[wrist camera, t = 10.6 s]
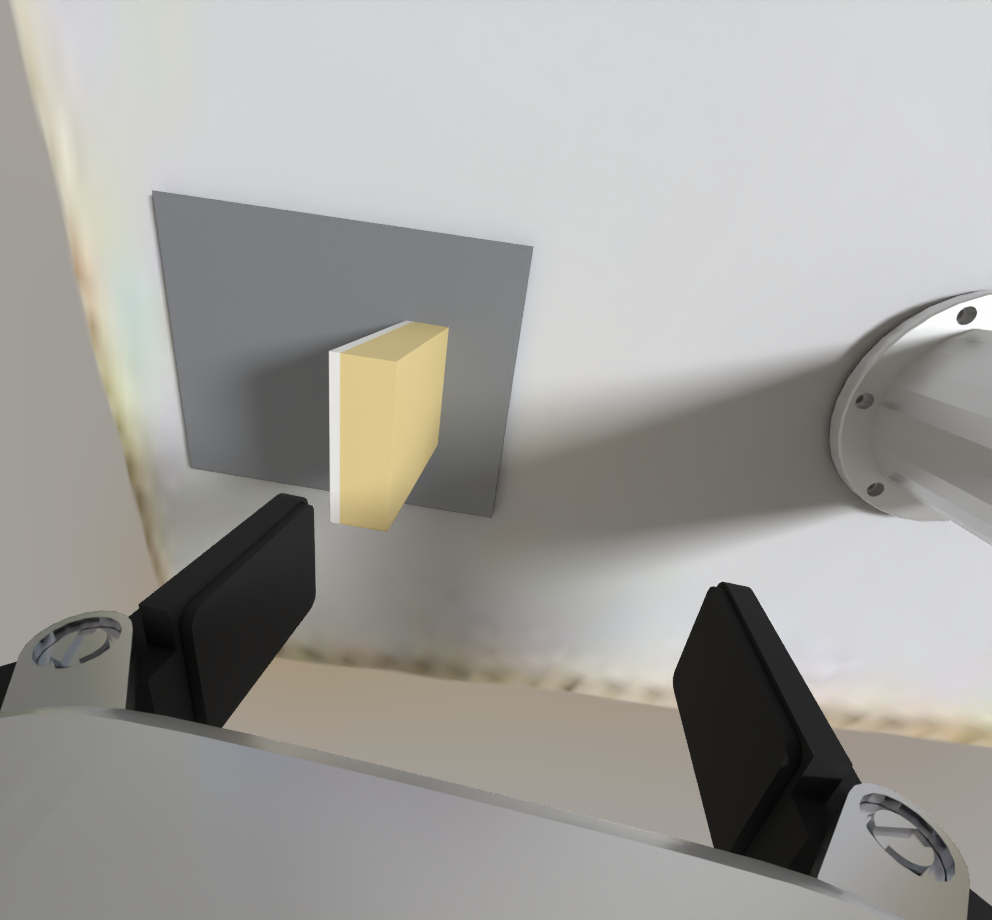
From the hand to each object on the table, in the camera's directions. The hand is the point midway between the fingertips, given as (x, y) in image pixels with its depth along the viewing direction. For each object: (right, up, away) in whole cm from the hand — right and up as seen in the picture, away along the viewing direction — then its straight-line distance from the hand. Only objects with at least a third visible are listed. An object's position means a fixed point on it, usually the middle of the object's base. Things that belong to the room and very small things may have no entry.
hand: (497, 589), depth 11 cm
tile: (-4, +7, +16) cm, 18 cm away
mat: (-9, +8, +17) cm, 21 cm away
